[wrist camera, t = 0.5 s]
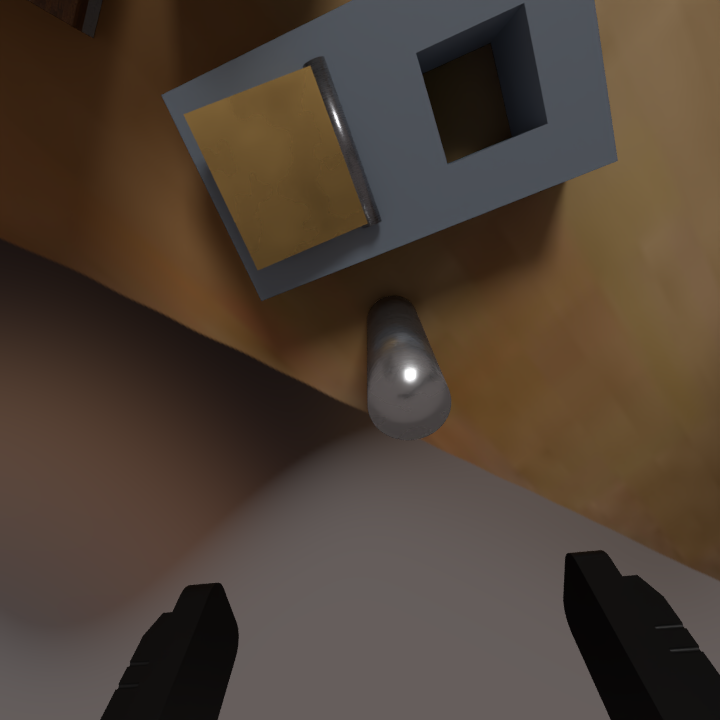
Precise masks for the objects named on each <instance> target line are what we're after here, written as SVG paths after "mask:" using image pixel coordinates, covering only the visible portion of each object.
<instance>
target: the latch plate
mask: <svg viewBox="0 0 720 720" xmlns="http://www.w3.org/2000/svg"><path fill="white" fill-rule="evenodd" d="M183 115H184V117H185V119H186V121H187V123H188V125H189V127H190V129H191V132H192V134H193V136H194V138H195V140H196V142H197V144H198V146H199V148H200V150H201V152H202V155H203V157H204V159H205V161H206V163H207V165H208V167H209V169H210V171H211V173H212V176H213V178H214V180H215V182H216V184H217V186H218V188H219V190H220V192H221V194H222V197H223V199H224V201H225V203H226V205H227V207H228V209H229V211H230V213H231V215H232V217H233V220H234V222H235V224H236V226H237V228H238V230H239V232H240V234H241V236H242V238H243V241H244V243H245V245H246V247H247V249H248V251H249V253H250V255H251V257H252V259H253V261H254V264H255V266H256V268H257V270H260V269H263V268H265V267H267V266H270V265H272V264H274V263H277V262H279V261H281V260H284V259H286V258H288V257H291V256H293V255H295V254H298V253H300V252H302V251H305V250H307V249H309V248H312V247H314V246H316V245H319V244H321V243H323V242H326V241H328V240H330V239H333V238H335V237H337V236H340V235H342V234H344V233H347V232H349V231H351V230H354V229H356V228H358V227H361V226H362V229H364V228H367V227H370V226H373V225H375V224H377V223H379V222H381V221H382V219H381V217H380V214H379V211H378V208H377V205H376V202H375V200H374V197H373V194H372V191H371V188H370V185H369V182H368V180H367V177H366V174H365V171H364V168H363V165H362V163H361V160H360V157H359V154H358V151H357V148H356V146H355V143H354V140H353V137H352V134H351V131H350V129H349V126H348V123H347V120H346V117H345V114H344V111H343V109H342V106H341V103H340V100H339V97H338V94H337V92H336V89H335V86H334V83H333V80H332V77H331V75H330V72H329V69H328V66H327V63H326V60H325V58H324V56H319V57H316V58H313V59H311V60H309V61H308V62H306V63H305V64H304V65H303V68H302V69H300V70H297V71H295V72H292V73H289V74H287V75H284V76H282V77H279V78H276V79H274V80H271V81H269V82H266V83H263V84H261V85H258V86H256V87H253V88H250V89H248V90H245V91H243V92H240V93H237V94H235V95H232V96H230V97H227V98H224V99H222V100H219V101H217V102H214V103H212V104H209V105H206V106H204V107H201V108H199V109H196V110H193V111H191V112H188V113H186V114H183Z"/></svg>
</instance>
